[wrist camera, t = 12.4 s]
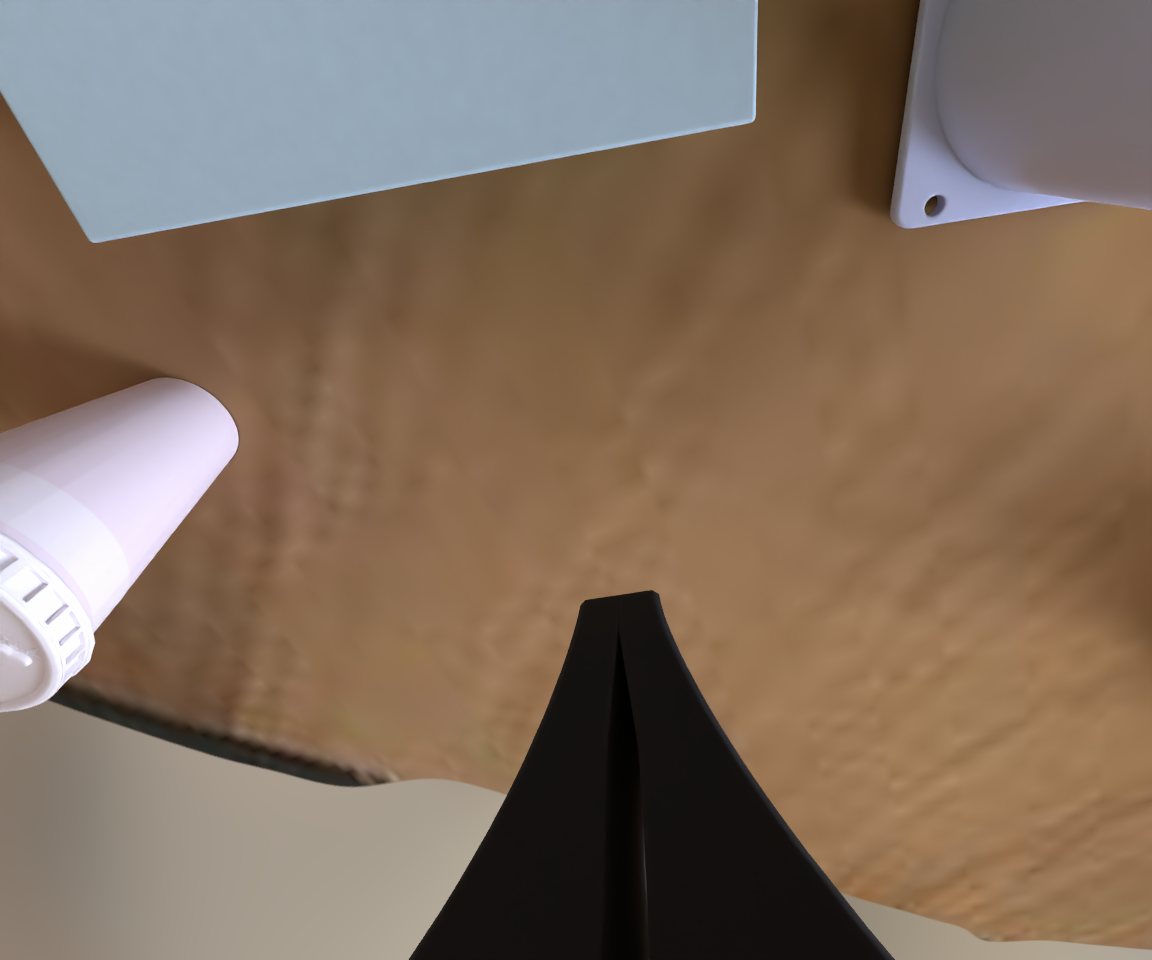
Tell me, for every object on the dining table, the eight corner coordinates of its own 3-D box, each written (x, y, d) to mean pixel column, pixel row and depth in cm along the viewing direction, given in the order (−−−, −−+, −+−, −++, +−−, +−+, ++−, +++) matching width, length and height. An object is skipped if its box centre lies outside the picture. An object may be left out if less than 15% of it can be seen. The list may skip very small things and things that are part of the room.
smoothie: (50, 369, 19) (-871, 768, 7) (200, 314, 17) (-614, 686, 6) (176, 511, 22) (-307, 946, 10) (309, 474, 21) (-64, 918, 9)
